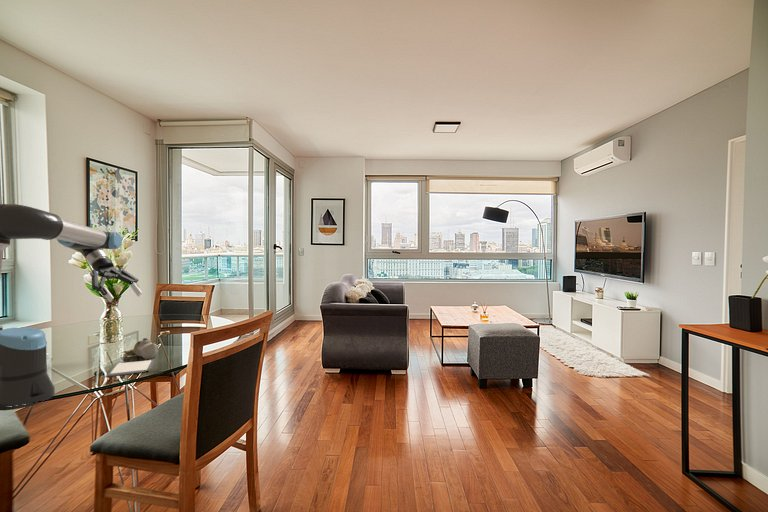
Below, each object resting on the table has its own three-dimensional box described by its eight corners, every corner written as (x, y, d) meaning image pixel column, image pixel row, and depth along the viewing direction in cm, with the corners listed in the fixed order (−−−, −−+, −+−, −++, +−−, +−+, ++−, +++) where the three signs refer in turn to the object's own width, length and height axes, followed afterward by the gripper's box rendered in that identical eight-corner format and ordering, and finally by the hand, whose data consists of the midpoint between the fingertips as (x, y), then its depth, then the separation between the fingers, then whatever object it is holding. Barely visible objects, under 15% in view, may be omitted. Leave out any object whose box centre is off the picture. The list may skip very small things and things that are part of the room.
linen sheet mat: (106, 376, 142) (106, 374, 142) (115, 364, 155) (115, 362, 155) (148, 372, 147) (148, 370, 147) (154, 360, 160) (154, 359, 160)
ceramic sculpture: (139, 342, 157) (122, 339, 165) (140, 362, 157) (123, 358, 165) (165, 337, 166) (147, 334, 174) (166, 356, 166) (148, 352, 174)
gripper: (122, 265, 182) (146, 297, 179) (66, 270, 158) (93, 308, 155) (130, 254, 180) (155, 287, 177) (74, 258, 156) (102, 296, 153)
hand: (126, 297), depth 166 cm, fingers open, 13 cm apart
